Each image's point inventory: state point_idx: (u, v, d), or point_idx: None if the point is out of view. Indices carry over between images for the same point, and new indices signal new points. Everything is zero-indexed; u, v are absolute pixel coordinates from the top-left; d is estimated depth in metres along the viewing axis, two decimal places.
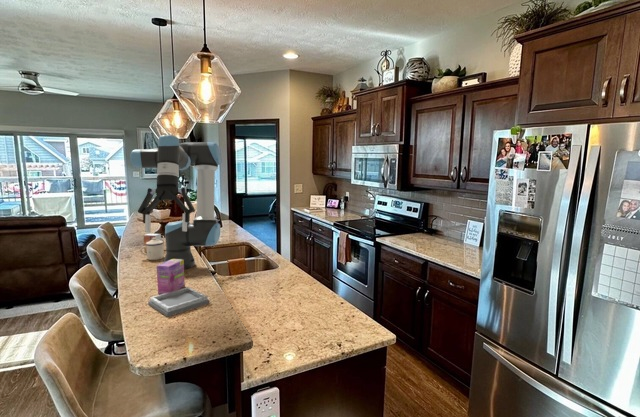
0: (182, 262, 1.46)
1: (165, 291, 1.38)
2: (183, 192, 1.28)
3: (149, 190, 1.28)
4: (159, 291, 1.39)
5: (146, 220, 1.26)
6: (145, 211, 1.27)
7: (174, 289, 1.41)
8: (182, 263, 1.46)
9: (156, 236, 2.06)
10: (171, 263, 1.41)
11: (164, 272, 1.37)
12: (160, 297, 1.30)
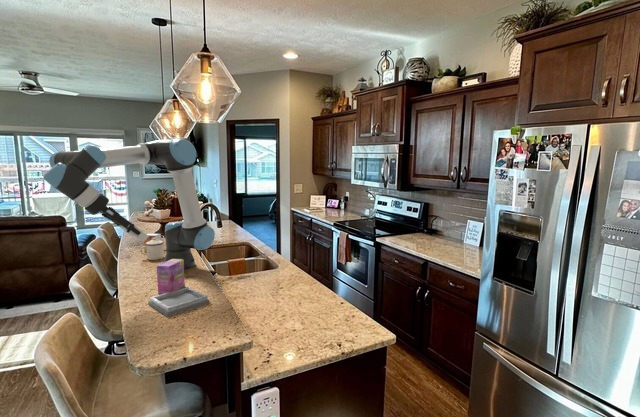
0: (182, 262, 1.46)
1: (165, 291, 1.38)
2: (110, 216, 1.20)
3: (99, 211, 1.28)
4: (159, 291, 1.39)
5: (124, 230, 1.35)
6: (116, 224, 1.34)
7: (174, 289, 1.41)
8: (182, 263, 1.46)
9: (156, 236, 2.06)
10: (171, 263, 1.41)
11: (164, 272, 1.37)
12: (160, 297, 1.30)
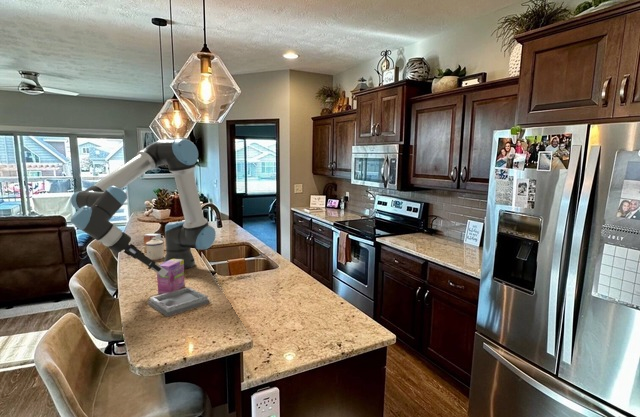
0: (182, 262, 1.46)
1: (165, 291, 1.38)
2: (132, 255, 1.26)
3: None
4: (159, 291, 1.39)
5: (144, 263, 1.41)
6: None
7: (174, 289, 1.41)
8: (182, 263, 1.46)
9: (156, 236, 2.06)
10: (171, 263, 1.41)
11: None
12: (160, 297, 1.30)
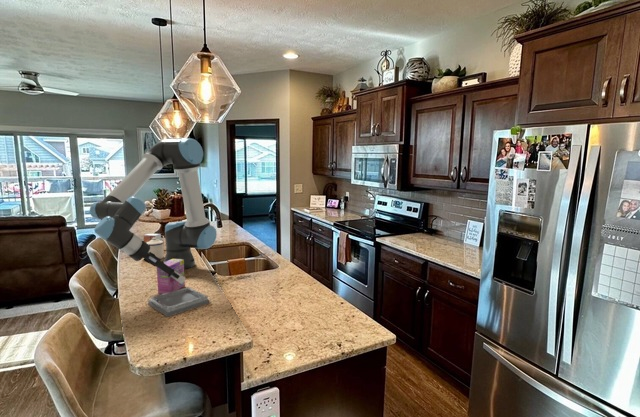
0: (182, 262, 1.46)
1: (165, 291, 1.38)
2: (153, 264, 1.32)
3: None
4: (159, 291, 1.39)
5: None
6: None
7: (174, 289, 1.41)
8: (182, 263, 1.46)
9: (156, 236, 2.06)
10: (171, 263, 1.41)
11: (164, 272, 1.37)
12: (160, 297, 1.30)
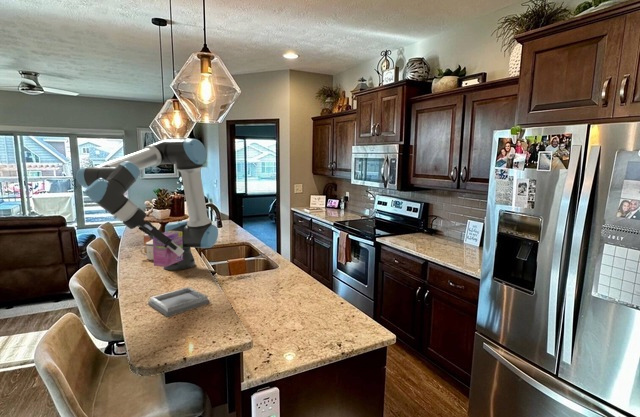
0: (181, 234, 1.35)
1: (161, 263, 1.28)
2: (149, 232, 1.22)
3: None
4: (155, 263, 1.29)
5: None
6: None
7: (171, 262, 1.30)
8: (181, 235, 1.35)
9: None
10: (168, 234, 1.30)
11: (160, 242, 1.27)
12: (160, 297, 1.30)
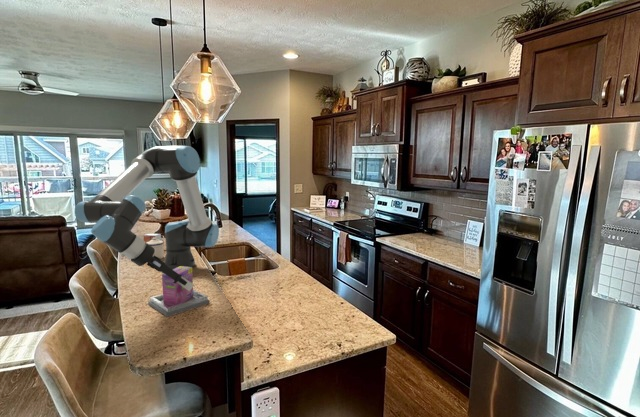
0: (191, 270, 1.30)
1: (171, 303, 1.23)
2: (157, 268, 1.16)
3: None
4: (165, 303, 1.24)
5: None
6: None
7: (181, 301, 1.25)
8: (191, 271, 1.30)
9: (156, 236, 2.06)
10: (178, 271, 1.25)
11: (170, 281, 1.22)
12: (160, 297, 1.30)
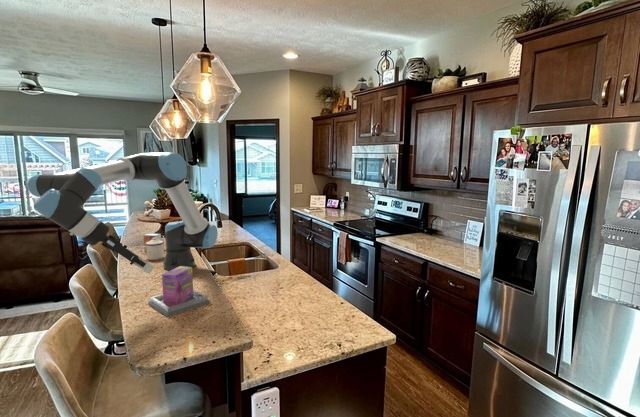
0: (191, 270, 1.30)
1: (171, 303, 1.23)
2: (111, 248, 1.06)
3: None
4: (165, 303, 1.24)
5: None
6: None
7: (181, 301, 1.25)
8: (191, 271, 1.30)
9: (156, 236, 2.06)
10: (178, 271, 1.25)
11: (170, 281, 1.22)
12: (160, 297, 1.30)
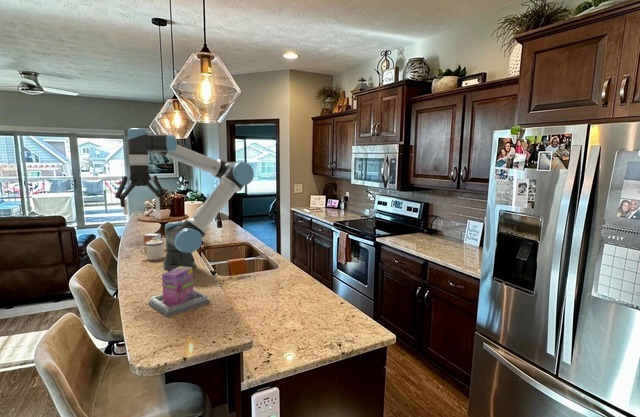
0: (191, 270, 1.30)
1: (171, 303, 1.23)
2: None
3: None
4: (165, 303, 1.24)
5: None
6: None
7: (181, 301, 1.25)
8: (191, 271, 1.30)
9: (156, 236, 2.06)
10: (178, 271, 1.25)
11: (170, 281, 1.22)
12: (160, 297, 1.30)
